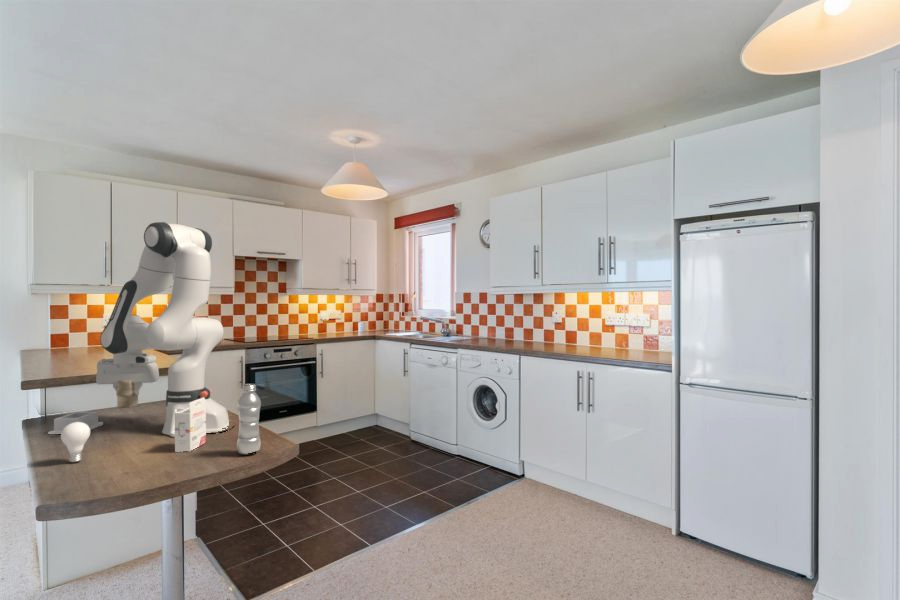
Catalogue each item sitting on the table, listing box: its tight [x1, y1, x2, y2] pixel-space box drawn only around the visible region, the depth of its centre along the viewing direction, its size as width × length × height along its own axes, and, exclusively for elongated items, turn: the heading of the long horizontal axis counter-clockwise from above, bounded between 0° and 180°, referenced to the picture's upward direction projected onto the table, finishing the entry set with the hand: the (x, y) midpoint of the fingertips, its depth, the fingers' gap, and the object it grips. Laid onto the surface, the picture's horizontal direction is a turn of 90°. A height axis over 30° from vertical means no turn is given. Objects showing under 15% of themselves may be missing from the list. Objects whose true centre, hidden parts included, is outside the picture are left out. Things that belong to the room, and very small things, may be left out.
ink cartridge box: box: [174, 397, 207, 453], centre depth 138 cm, size 9×5×15 cm, turn 179°
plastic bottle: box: [236, 383, 262, 455], centre depth 133 cm, size 6×7×20 cm
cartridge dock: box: [47, 411, 104, 435], centre depth 159 cm, size 10×12×5 cm
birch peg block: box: [116, 380, 139, 409], centre depth 170 cm, size 4×6×10 cm, turn 8°
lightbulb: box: [60, 422, 91, 464], centre depth 126 cm, size 6×6×11 cm
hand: (127, 395), depth 170 cm, fingers closed on birch peg block, 4 cm apart
